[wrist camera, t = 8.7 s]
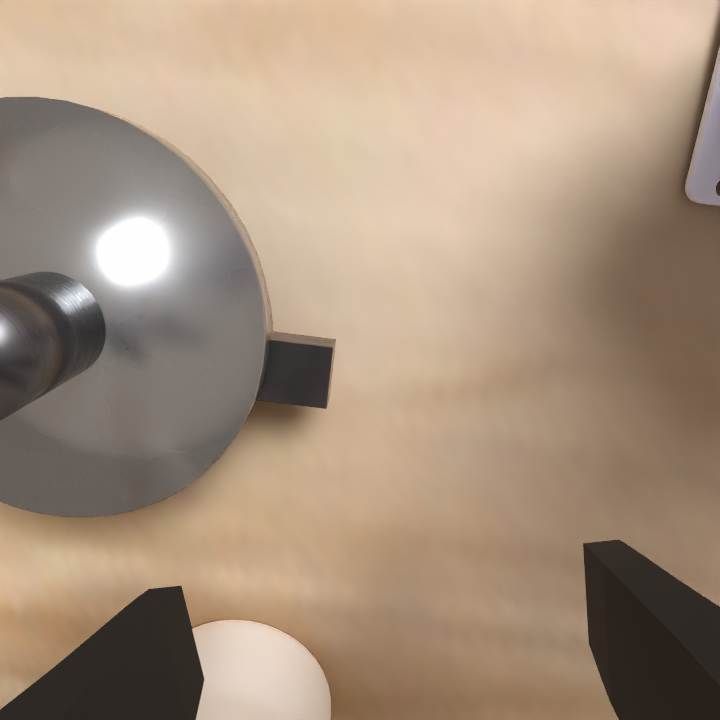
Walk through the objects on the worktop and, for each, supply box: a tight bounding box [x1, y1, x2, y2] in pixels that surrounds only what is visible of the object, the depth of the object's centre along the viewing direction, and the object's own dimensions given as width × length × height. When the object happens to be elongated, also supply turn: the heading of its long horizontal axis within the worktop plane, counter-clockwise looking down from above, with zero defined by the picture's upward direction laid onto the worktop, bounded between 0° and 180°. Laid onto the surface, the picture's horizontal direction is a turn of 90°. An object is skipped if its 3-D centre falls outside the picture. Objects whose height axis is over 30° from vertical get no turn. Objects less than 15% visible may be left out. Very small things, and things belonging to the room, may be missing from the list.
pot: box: [256, 292, 336, 409], centre depth 19 cm, size 14×10×4 cm
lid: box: [0, 97, 271, 517], centre depth 15 cm, size 11×11×5 cm
